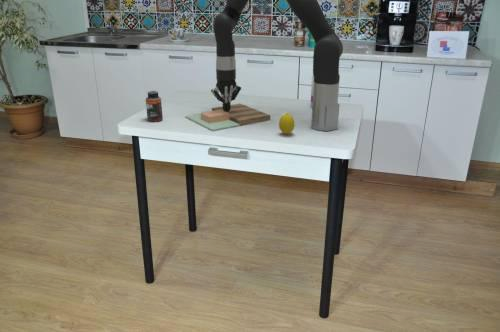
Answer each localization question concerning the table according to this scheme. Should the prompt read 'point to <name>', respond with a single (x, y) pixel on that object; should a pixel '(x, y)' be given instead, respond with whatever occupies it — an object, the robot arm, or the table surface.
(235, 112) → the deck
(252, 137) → the table surface
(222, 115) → the tile
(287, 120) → the lemon
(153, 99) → the supplement bottle
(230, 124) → the mat
